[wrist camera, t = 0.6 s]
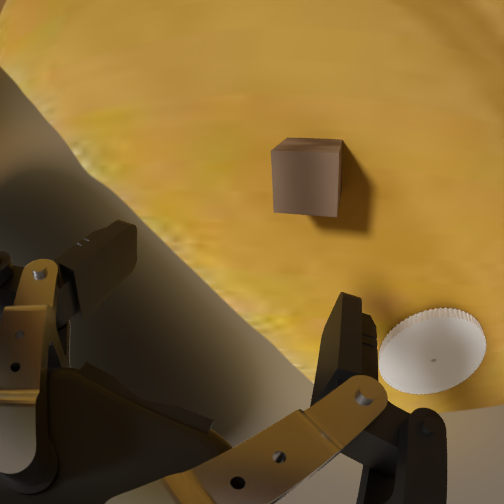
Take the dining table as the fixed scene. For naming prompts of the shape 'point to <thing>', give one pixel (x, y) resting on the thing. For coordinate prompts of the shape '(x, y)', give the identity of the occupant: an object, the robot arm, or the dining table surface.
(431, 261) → the dining table surface
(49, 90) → the dining table surface
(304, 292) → the dining table surface
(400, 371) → the plastic lid
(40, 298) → the robot arm
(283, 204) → the walnut block
